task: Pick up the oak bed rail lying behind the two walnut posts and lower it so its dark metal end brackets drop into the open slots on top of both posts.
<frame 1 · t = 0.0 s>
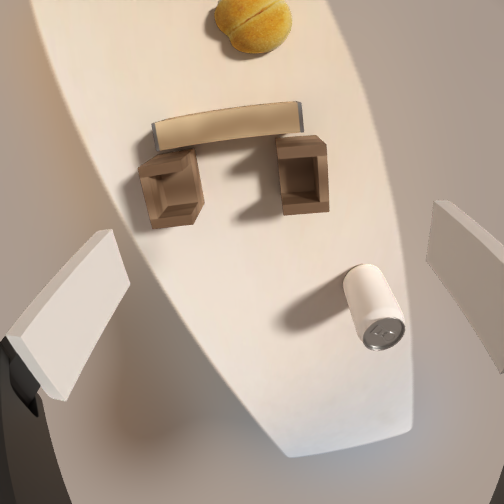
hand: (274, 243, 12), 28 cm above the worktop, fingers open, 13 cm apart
post b: (298, 165, 38), on the worktop
bread roll: (253, 20, 30), on the worktop
can: (362, 280, 46), on the worktop
post a: (181, 178, 39), on the worktop
rail: (231, 120, 36), on the worktop
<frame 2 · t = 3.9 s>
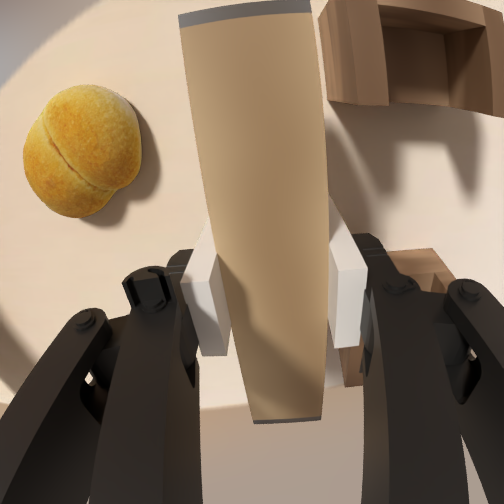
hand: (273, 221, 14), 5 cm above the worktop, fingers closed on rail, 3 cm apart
post b: (385, 59, 14), on the worktop
bread roll: (89, 148, 18), on the worktop
post a: (382, 282, 21), on the worktop
rail: (273, 217, 14), point 5 cm above the worktop, touching gripper
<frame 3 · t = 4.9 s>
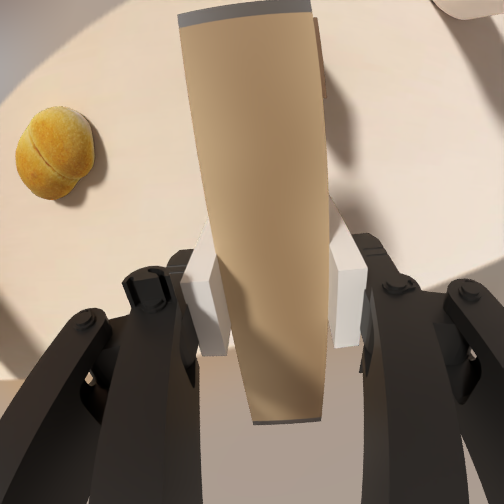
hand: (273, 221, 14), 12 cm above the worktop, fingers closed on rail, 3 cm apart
post b: (258, 69, 21), on the worktop
bread roll: (61, 150, 25), on the worktop
rail: (273, 218, 14), point 12 cm above the worktop, touching gripper
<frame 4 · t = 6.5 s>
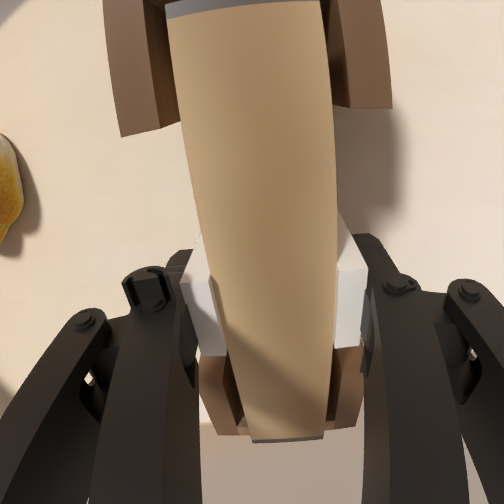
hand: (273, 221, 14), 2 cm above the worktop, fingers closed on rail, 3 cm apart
post b: (252, 54, 12), on the worktop
post a: (280, 316, 20), on the worktop
rail: (273, 227, 13), point 3 cm above the worktop, touching gripper, post a, post b
when the fingers open (2 cm above the worktop, at t = 7.1 s): rail stays where it is, resting on post a, post b.
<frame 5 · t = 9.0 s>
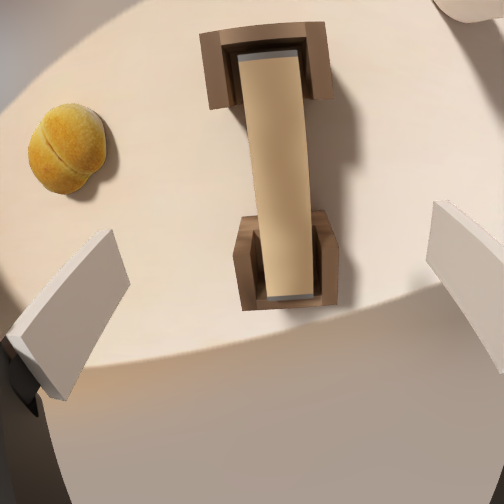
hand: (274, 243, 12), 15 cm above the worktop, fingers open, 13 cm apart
post b: (268, 70, 22), on the worktop
bread roll: (73, 146, 26), on the worktop
post a: (285, 238, 29), on the worktop
rail: (280, 166, 23), point 3 cm above the worktop, touching post a, post b
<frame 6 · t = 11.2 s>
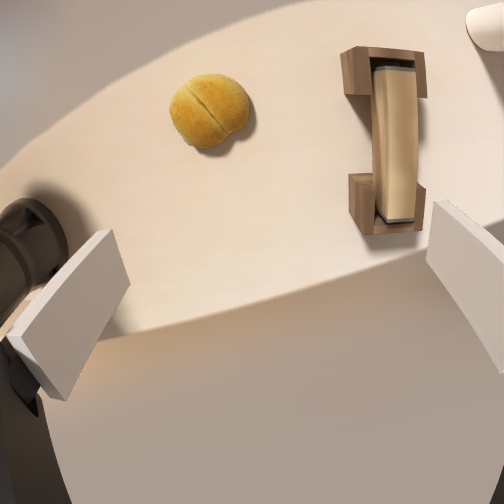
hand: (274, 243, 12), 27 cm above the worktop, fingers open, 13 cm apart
post b: (372, 74, 31), on the worktop
bread roll: (210, 110, 34), on the worktop
can: (480, 30, 25), on the worktop
post a: (376, 191, 38), on the worktop
rail: (385, 138, 31), point 3 cm above the worktop, touching post a, post b
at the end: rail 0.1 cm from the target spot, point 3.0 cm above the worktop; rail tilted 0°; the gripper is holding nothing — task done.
